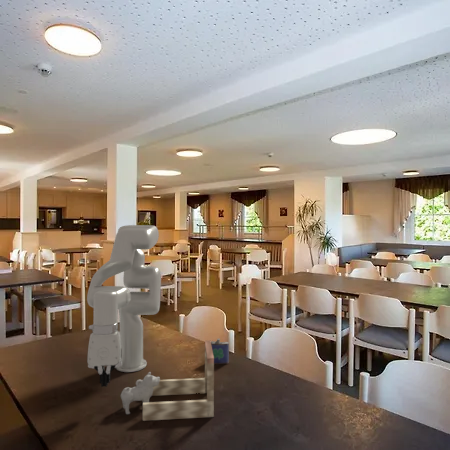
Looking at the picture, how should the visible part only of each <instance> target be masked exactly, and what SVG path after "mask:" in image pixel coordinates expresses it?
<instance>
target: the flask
mask: <svg viewBox="0 0 450 450" xmlns="http://www.w3.org/2000/svg"><path fill="white" fill-rule="evenodd" d="M211 346H212V351H213V356H214V365H228V364H229V362H230V360H229V357H230V356H229V355H230V354H229V352H230V351H229V350H230V349H229V348H230V343H229V342H228V341H221V338H216V340H214V341H213V340H212V341H211Z"/></svg>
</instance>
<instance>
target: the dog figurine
mask: <svg viewBox="0 0 450 450" xmlns="http://www.w3.org/2000/svg"><path fill="white" fill-rule="evenodd" d="M160 380H161V378H160V376H154V375H152V372H151V371H149V372H147V374H146V375H145V376H144V377H143V379H137V380H136V381H135V385H136V386H133V387H129V386H127V387H125V388H123V389H122V391H121V393H120V399H121V402H122V407H123V409H124V410H125V415H130V414H131V412H130V404H131V403H133V402H136V401H137V402H138V401H141V402H142V404H143V403H146V402H150V398H151V397H153V396H152V393H153V387H154V386H157V385H158V384H159V382H160Z"/></svg>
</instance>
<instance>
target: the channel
mask: <svg viewBox="0 0 450 450" xmlns="http://www.w3.org/2000/svg"><path fill="white" fill-rule="evenodd" d="M214 386H215V364H214V356H213V351H212V346H211V340H208V339H207V340H204V377H195V378H193V377H192V378H191V377H190V378H172V379H171V378H169V379H160V382H159V384H158V385H157V386H154V387H153V393H152V396H151V397H153V396H155V397H156V396H158V397H159V396H171V395H172V396H173V395H175V396H176V395H177V396H178V395H195V394H196V393H197V394H196V395H198V393H200V394H206V399H191V400H190V399H189V400H188V399H187V400H173V401H172V400H171V401H169V400H168V401H167V400H166V401H149V402H146V403H143V402H142V421H144V422H145V421H161V420H162V421H163V420H179V419H181V420H182V419H197V418H213V417H215V415H214V412H215V410H214V409H215V408H214V406H215V405H214V404H215V403H214V402H215V401H214V400H215V399H214V398H215V397H214V396H215V395H214V394H215V393H214V392H215V390H214V389H215V388H214Z"/></svg>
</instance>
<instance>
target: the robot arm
mask: <svg viewBox="0 0 450 450" xmlns="http://www.w3.org/2000/svg"><path fill="white" fill-rule="evenodd" d="M159 234H160V232H159V229H158V227H157V226H155V225H151V224H150V225H148V224H147V225H146V224H145V225H143V224H142V225H139V224H126V225H122V226H121V227H118V230H117V233H116V234H115V237H114V238H115V239H114V242H113V247H112V249H111V253H110V258H109V260H108V261H107V262H105V263H104V264H103V265H101V266H100V268H98V269H97V271H96V272H95V273H94V274H93V276H92V277H91V281H90V283H89V288H88V290H87V295H86V297H87V298H86V300H87V301H86V302H87V304H88V306H89V307H91V308H92V309H93V324H91V325H89V326H88V330H91V331H92V333H90V336H89V339H88V340H89V341H88V346H87V347H88V349H87V367H88V368H89V369H94V370H95V371H96V372H97V373H98V374H99V384H101V385H100V386H101V387H102V388H103V387H107V386H108V385H109V384H110V383H111V372H112V371H113V370H114V369H116V370H117V371H119V372H122V373H123V372H124V373H133V372H139V371H141V370H143V369H145V368H146V366H147V363H148V362H147V360H146V359H144V324H143V321H142V318H141V317H140V316H141V315H142V316H143V315H147V316H148V315H149V316H150V315H156V314H158V313H159V311H160V307H161V291H162V288H161V287H162V273H161V270H160V269H159V267H157V266H153V265H151V266H149V265H148V266H146V265H145V264H146V263H145V260H146V259H145V258H146V256H145V253H144V251H143V250H151V249H152V248H153V247H155V245H156V244H157V242H158V240H159V237H160V235H159ZM121 273H123V278H122V279H123V285H124V286H120V285H119V286H118V285H117V286H116V285H115V286H114V285H106V286H105V285H103V284H104V283H105V282H106V281H107V280H108V279H110V278H112V277H113V276H116V275H119V274H121ZM129 289H141V290H142V289H143V290H144V289H148V291H130V290H129ZM139 315H140V316H139ZM118 317H119V318H118ZM118 319H119V322H118ZM118 323H119V324H118ZM118 325H119V330H118ZM105 367H106V370H105Z"/></svg>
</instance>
